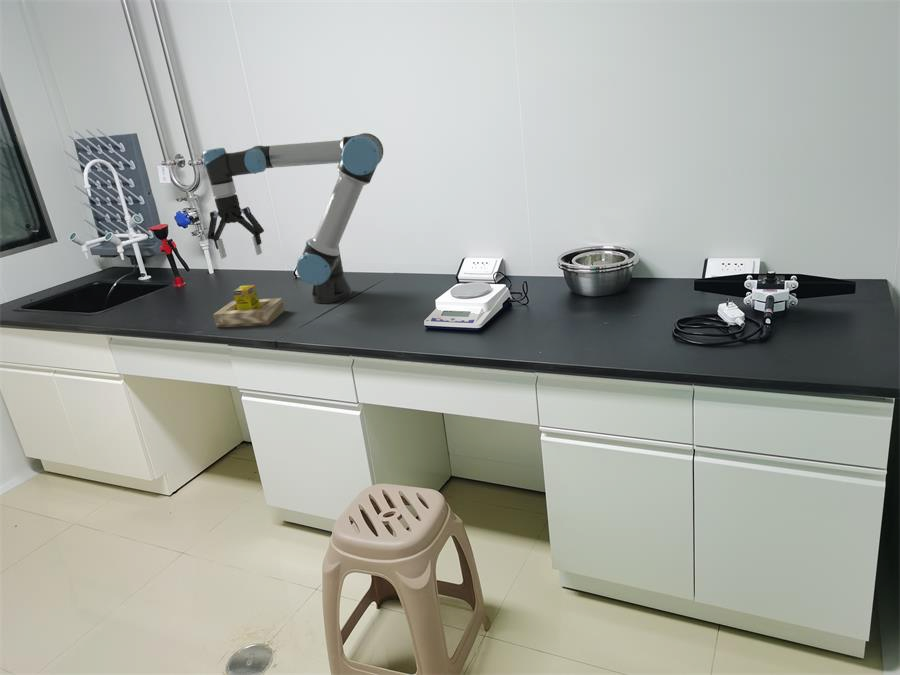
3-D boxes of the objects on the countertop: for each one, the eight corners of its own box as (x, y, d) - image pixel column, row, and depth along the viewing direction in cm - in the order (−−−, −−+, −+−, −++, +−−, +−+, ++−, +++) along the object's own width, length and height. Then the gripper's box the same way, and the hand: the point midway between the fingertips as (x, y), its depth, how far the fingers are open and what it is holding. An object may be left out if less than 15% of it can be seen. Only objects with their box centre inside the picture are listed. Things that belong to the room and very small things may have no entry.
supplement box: (254, 318, 230) (247, 290, 225) (239, 319, 231) (232, 290, 227) (262, 313, 235) (255, 284, 231) (247, 313, 236) (240, 285, 232)
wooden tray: (284, 310, 237) (281, 298, 236) (268, 325, 225) (264, 311, 223) (235, 313, 242) (232, 300, 240) (216, 327, 229) (213, 314, 227)
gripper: (263, 189, 220) (278, 249, 228) (197, 197, 225) (214, 256, 233) (254, 193, 213) (270, 255, 221) (186, 201, 218) (204, 261, 226)
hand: (241, 255), depth 227 cm, fingers open, 13 cm apart
